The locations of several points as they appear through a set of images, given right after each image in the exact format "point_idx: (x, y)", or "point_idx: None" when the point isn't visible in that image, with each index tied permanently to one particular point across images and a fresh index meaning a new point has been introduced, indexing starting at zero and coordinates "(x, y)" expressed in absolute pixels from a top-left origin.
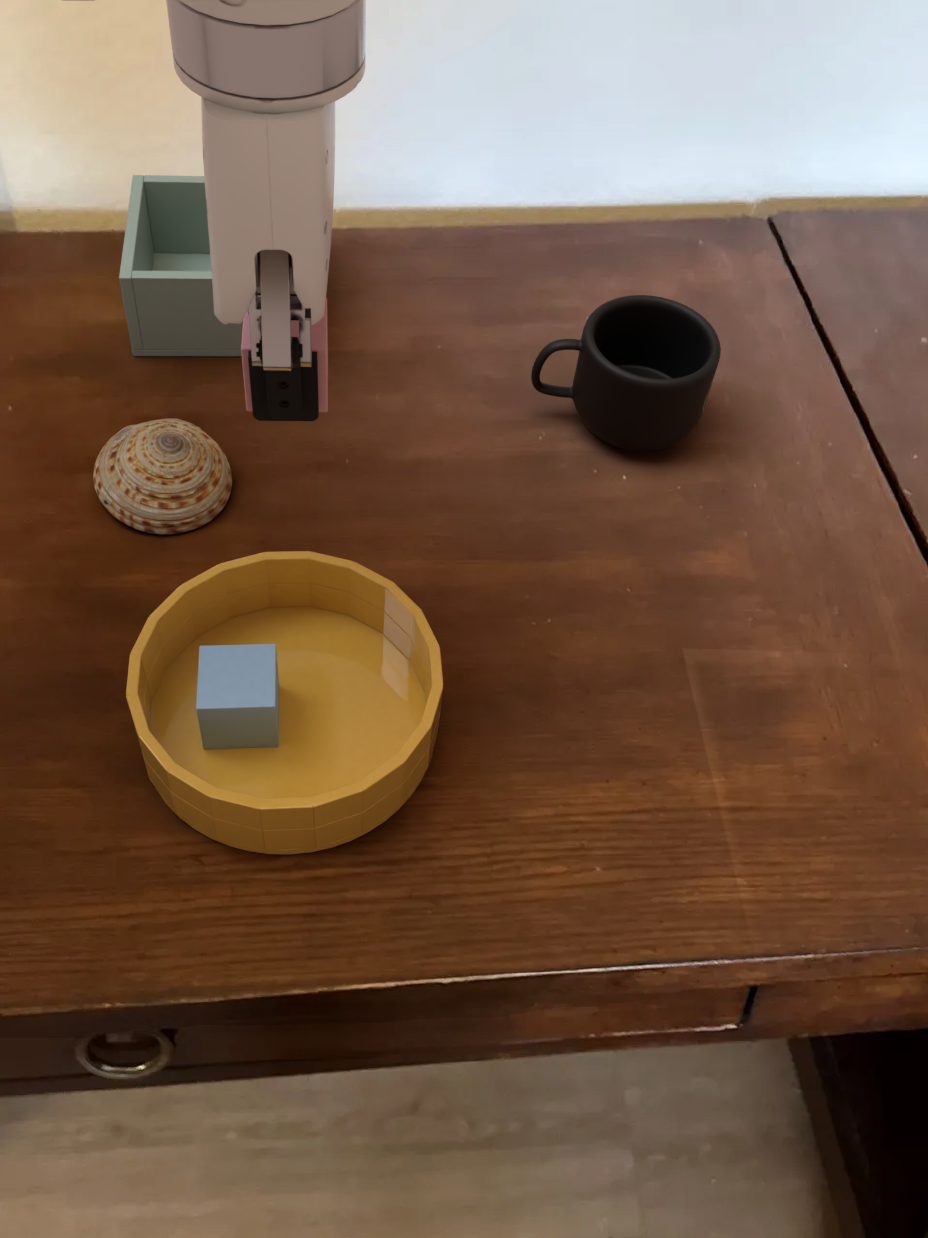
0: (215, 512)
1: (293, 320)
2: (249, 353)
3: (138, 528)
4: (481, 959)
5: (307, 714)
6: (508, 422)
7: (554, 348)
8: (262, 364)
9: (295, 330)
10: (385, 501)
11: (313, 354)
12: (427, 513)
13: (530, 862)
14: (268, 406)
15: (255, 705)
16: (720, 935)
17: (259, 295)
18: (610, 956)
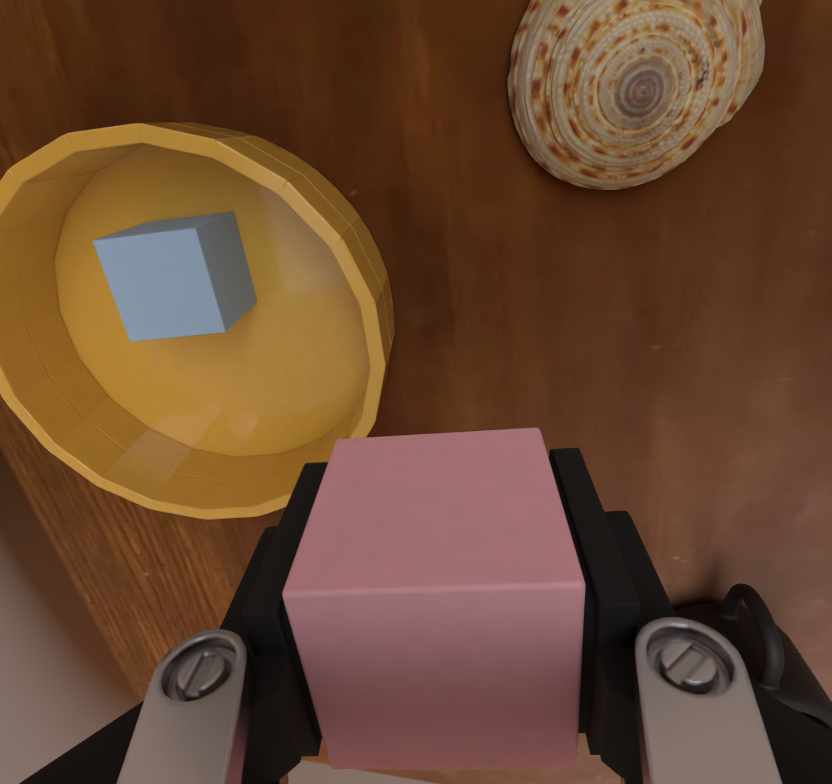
0: (550, 171)
1: (453, 706)
2: (263, 616)
3: (513, 43)
4: (33, 493)
5: (225, 338)
6: (708, 528)
7: (767, 656)
8: (63, 754)
9: (401, 714)
10: (576, 398)
11: (304, 748)
12: (554, 445)
13: (134, 529)
14: (260, 542)
15: (123, 318)
16: (119, 640)
17: (592, 615)
18: (74, 576)
